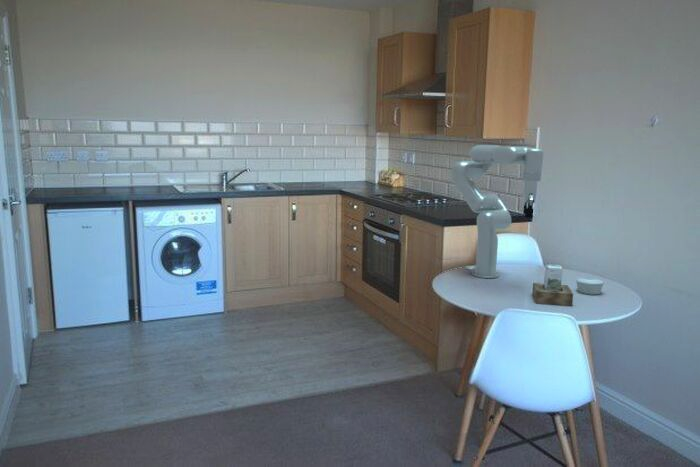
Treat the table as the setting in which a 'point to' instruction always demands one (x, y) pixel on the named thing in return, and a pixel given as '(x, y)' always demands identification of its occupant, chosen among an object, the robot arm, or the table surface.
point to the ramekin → (589, 286)
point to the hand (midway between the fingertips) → (527, 215)
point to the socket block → (552, 295)
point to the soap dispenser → (553, 277)
